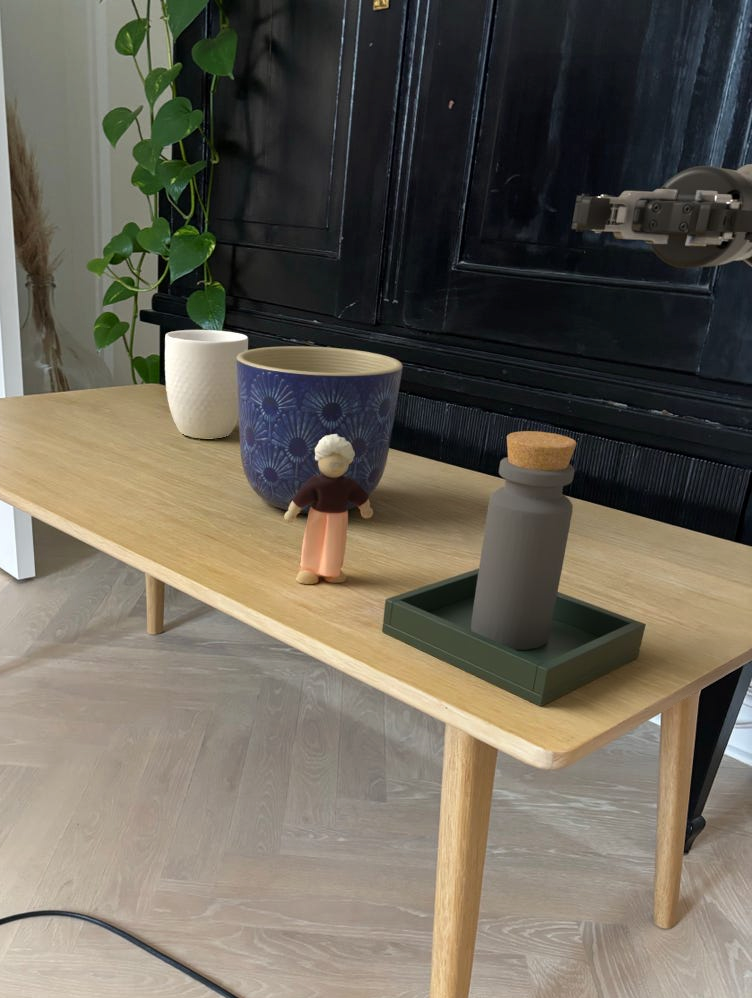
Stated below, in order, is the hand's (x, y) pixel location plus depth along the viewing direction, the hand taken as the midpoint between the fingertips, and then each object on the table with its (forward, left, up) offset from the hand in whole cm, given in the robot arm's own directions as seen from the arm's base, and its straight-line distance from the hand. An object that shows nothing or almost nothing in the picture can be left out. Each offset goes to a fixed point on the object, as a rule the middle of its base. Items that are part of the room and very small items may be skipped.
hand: (641, 216), depth 67 cm
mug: (+65, -11, -30) cm, 73 cm away
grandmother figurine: (+16, +13, -30) cm, 37 cm away
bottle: (-2, +11, -29) cm, 31 cm away
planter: (+33, -1, -30) cm, 45 cm away
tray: (-2, +11, -30) cm, 32 cm away
